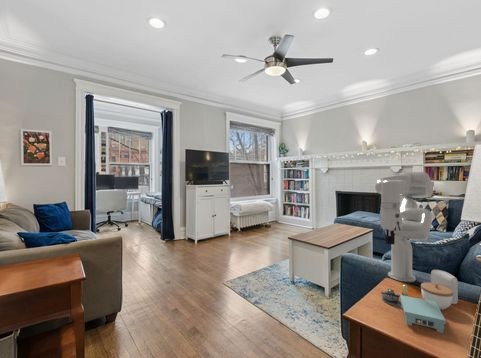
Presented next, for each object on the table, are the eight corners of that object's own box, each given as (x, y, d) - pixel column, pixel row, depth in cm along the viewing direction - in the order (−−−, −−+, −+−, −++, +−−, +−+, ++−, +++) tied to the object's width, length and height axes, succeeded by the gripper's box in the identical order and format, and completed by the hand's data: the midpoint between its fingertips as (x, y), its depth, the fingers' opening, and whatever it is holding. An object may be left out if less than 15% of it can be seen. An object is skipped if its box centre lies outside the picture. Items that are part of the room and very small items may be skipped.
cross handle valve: (405, 298, 107) (405, 282, 107) (409, 306, 101) (409, 289, 100) (380, 293, 111) (380, 278, 111) (381, 300, 105) (381, 284, 105)
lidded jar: (459, 314, 96) (459, 291, 96) (429, 311, 98) (429, 288, 98) (442, 300, 106) (442, 279, 106) (415, 298, 109) (415, 277, 108)
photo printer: (428, 293, 113) (429, 267, 113) (436, 292, 114) (436, 267, 113) (451, 305, 103) (451, 276, 102) (459, 304, 103) (460, 276, 103)
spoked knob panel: (381, 295, 111) (381, 285, 111) (431, 305, 102) (431, 294, 102) (384, 320, 92) (384, 308, 92) (446, 335, 83) (446, 321, 83)
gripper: (409, 208, 107) (409, 248, 108) (387, 204, 122) (387, 239, 123) (393, 208, 107) (393, 248, 107) (373, 204, 122) (373, 239, 122)
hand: (390, 243), depth 115 cm, fingers closed
